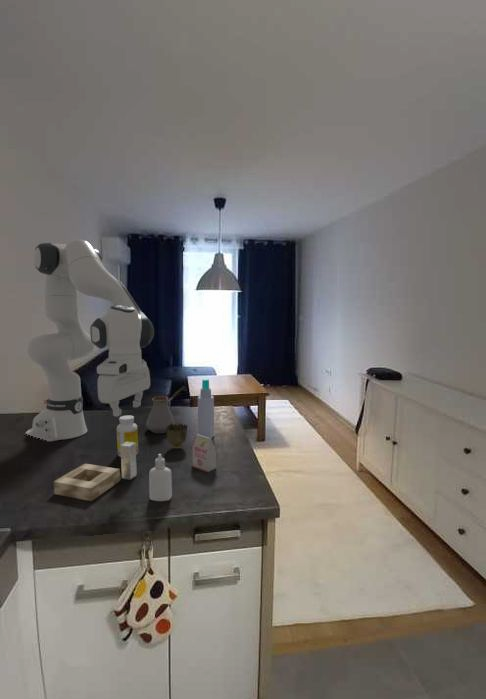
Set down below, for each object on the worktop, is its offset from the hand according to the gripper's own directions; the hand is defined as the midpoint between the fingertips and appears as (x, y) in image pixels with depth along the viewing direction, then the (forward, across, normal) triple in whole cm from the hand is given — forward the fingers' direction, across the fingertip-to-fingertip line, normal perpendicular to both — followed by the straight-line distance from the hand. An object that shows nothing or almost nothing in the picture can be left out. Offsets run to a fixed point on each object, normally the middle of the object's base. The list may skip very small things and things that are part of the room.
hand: (127, 411), depth 110 cm
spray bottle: (+20, -38, +8) cm, 44 cm away
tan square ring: (+20, +9, -7) cm, 23 cm away
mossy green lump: (+20, -24, +3) cm, 31 cm away
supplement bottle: (+20, -14, -10) cm, 27 cm away
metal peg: (+20, 0, 0) cm, 20 cm away
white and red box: (+20, -13, +18) cm, 30 cm away
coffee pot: (+20, -44, -11) cm, 50 cm away
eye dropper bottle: (+20, +8, +15) cm, 26 cm away
